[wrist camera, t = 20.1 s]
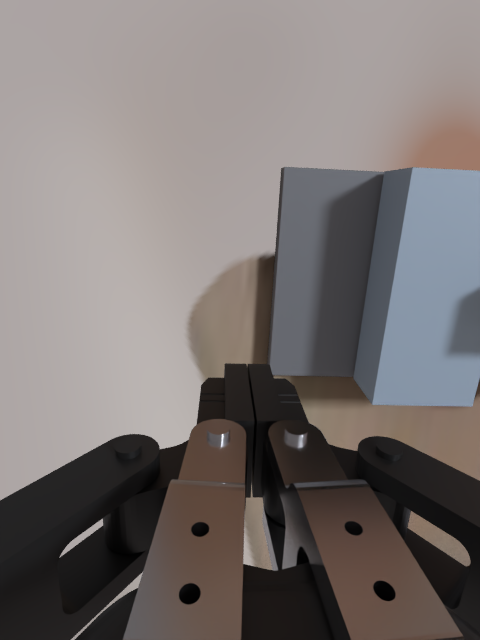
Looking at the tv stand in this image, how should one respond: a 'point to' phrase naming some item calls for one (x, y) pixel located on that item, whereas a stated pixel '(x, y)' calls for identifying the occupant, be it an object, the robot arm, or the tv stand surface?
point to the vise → (321, 269)
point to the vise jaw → (423, 291)
